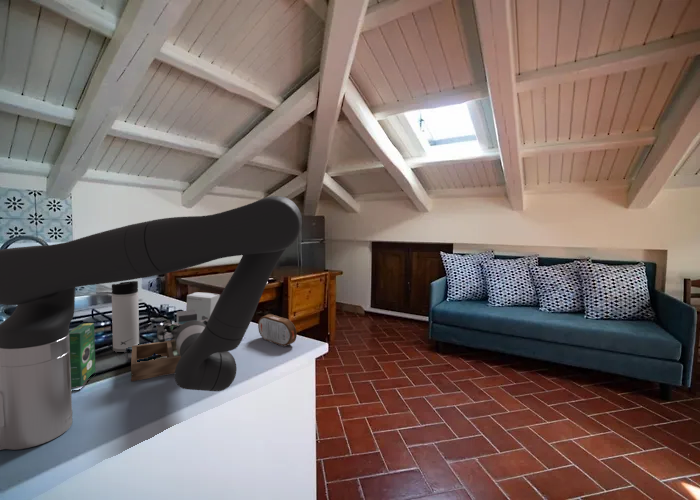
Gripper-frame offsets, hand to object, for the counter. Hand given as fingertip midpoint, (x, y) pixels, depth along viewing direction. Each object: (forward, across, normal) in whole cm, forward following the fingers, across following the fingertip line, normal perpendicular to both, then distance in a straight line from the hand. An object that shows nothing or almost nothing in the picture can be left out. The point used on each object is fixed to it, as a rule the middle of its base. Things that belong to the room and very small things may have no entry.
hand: (186, 321), depth 89 cm
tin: (0, -26, +11) cm, 28 cm away
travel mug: (+14, +14, +11) cm, 23 cm away
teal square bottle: (-2, 0, +9) cm, 9 cm away
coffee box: (-4, +22, +11) cm, 25 cm away
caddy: (-2, +4, +10) cm, 11 cm away
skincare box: (+12, -6, +11) cm, 17 cm away
